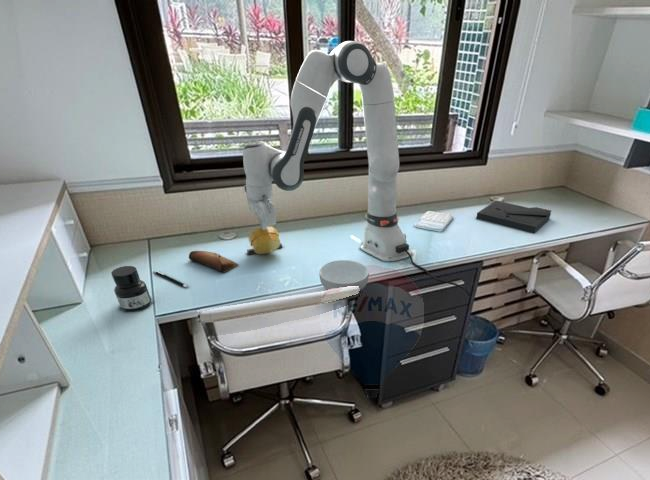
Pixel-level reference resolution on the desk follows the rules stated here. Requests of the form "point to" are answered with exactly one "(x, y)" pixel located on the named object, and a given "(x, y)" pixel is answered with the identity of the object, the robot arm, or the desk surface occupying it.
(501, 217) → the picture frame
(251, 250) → the strip
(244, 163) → the robot arm
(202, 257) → the sunglasses case
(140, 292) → the ink bottle
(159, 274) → the pen
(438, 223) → the white folded towel
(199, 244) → the desk surface
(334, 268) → the cereal bowl
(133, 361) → the desk surface
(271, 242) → the glazed bowl
